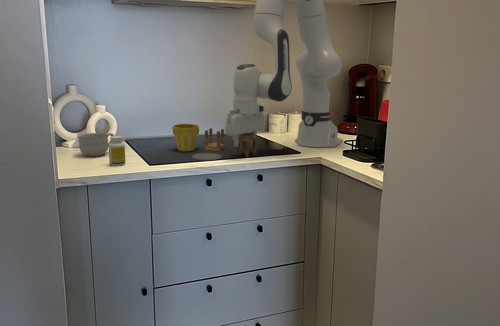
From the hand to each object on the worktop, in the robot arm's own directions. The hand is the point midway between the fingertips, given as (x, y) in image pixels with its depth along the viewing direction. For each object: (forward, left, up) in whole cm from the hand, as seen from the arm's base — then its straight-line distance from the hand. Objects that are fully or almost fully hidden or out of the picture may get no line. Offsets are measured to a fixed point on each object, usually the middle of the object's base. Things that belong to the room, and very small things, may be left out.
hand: (244, 144), depth 191 cm
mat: (+12, -9, -4) cm, 15 cm away
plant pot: (+7, -24, -4) cm, 25 cm away
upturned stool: (-1, -16, -4) cm, 16 cm away
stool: (0, 0, -4) cm, 4 cm away
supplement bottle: (+40, -26, -4) cm, 48 cm away
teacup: (+34, -44, -4) cm, 55 cm away
